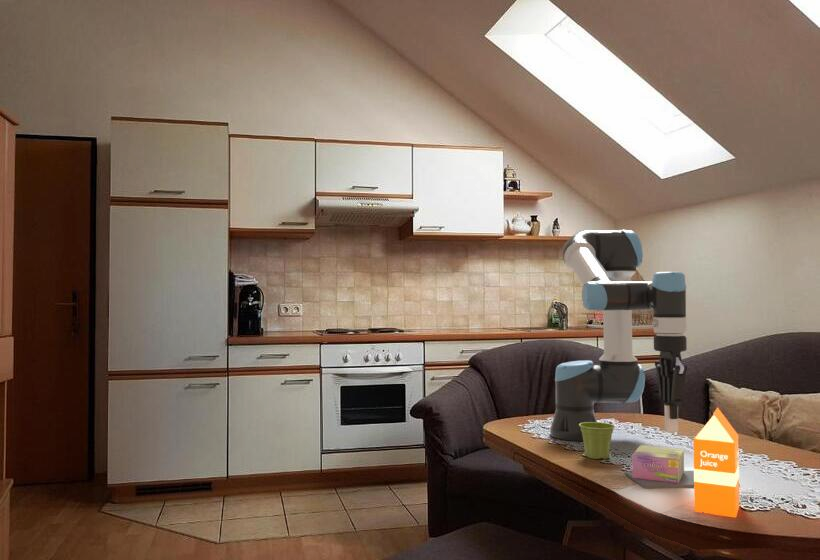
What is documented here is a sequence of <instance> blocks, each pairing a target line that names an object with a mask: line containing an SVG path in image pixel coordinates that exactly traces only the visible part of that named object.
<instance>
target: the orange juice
mask: <svg viewBox="0 0 820 560" xmlns="http://www.w3.org/2000/svg"><path fill="white" fill-rule="evenodd" d="M712 414H713V415H712V416H711V417H710V418H709V419H708V421H707V422H706V423H705V425H704V426H703V427H702V429H701V430H700V431H698V432H697V434H696V435H695V437H694V438H693V471H694V487H693V488H694V489H693V490H694V512H696V513H702V512H704V513H703V514H708V513H709V514H711V515H715V516H716V515H717V516H721V517H722V516H724V517H729V518H730V517H731V518H737V515H738V511H739V509H740V487H739V484H740V466H739V465H740V462H739V460H740V459H739V455H740V452H739V436H740V435H739V434H738V433H737V431H736V430H735V429H734V428H733V426H732V425H731V423H730V422H729V420H728V419H727V418H726V417H725V415H724V414H723V413H722V411H721V410H720V409H719V407H716V409H715V410H714V411H713V413H712ZM709 514H708V515H709Z"/></svg>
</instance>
